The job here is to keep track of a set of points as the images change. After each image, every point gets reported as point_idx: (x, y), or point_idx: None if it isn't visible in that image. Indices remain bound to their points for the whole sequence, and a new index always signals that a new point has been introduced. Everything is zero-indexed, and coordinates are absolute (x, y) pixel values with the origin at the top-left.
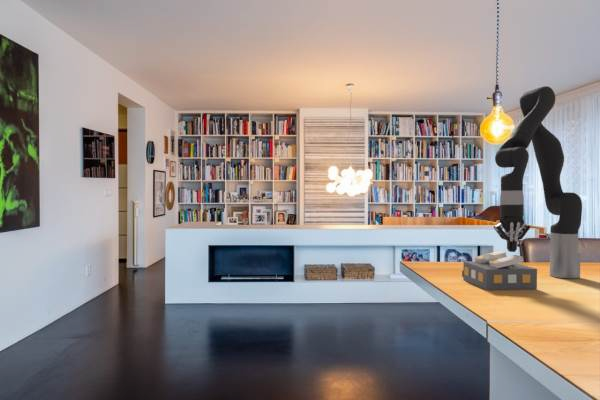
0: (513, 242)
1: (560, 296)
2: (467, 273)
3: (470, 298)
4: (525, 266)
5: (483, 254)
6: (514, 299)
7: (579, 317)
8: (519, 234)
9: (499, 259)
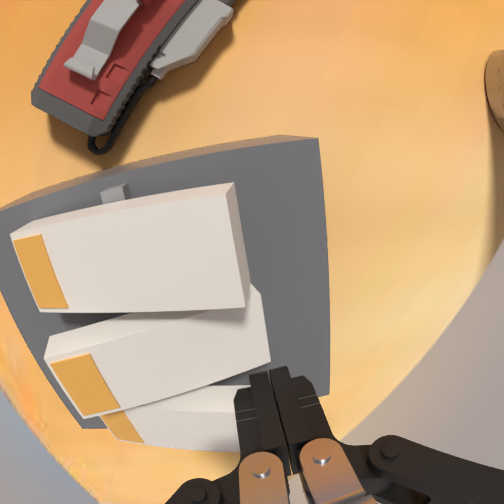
0: (287, 469)
1: (319, 399)
2: None
3: (62, 433)
4: (314, 345)
5: (47, 352)
6: None
7: None
8: (423, 473)
9: (145, 414)
